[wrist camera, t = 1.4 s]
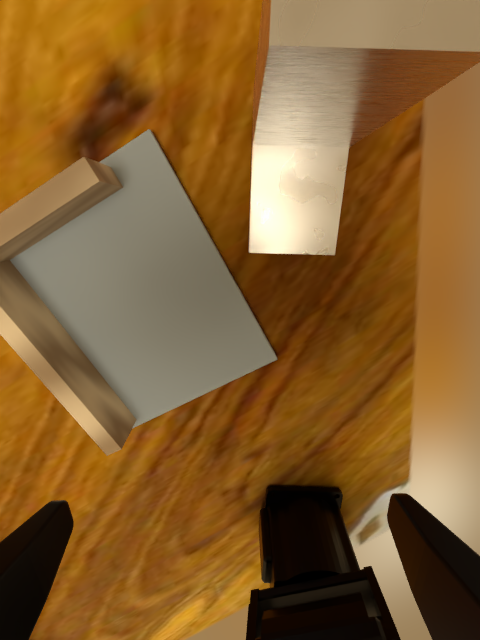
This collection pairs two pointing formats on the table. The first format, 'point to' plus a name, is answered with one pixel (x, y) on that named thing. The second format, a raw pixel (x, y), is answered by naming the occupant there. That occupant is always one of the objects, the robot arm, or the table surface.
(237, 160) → the table surface
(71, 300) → the slate board
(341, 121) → the bracket
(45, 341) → the board walls
